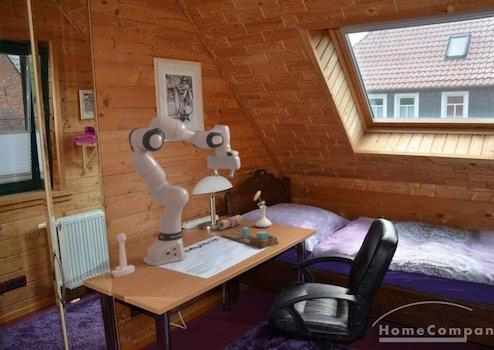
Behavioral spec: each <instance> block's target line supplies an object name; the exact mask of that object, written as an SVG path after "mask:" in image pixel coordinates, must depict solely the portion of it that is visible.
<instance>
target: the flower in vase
mask: <svg viewBox="0 0 494 350" xmlns="http://www.w3.org/2000/svg"><path fill="white" fill-rule="evenodd" d="M261 193H262V192H261V190H258V191H257V192H256V194H255V195H254V197H253V201H254V202H255V201H257V200H258V199H259V201H260V202H259V203H257V206H259V208H260V213H261V216H260V218H259V219H258V220H256V221H255V222H254V225H255V226H256V227H258V228H268V227H271V226H272V224H273V223H272V222H271V220H269V219H268V218H267V217H266V214H265V212H266V208H267V206H266V205H265V203H266V202H265V200H261V198H260V195H261Z"/></svg>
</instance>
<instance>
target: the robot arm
mask: <svg viewBox="0 0 494 350" xmlns="http://www.w3.org/2000/svg"><path fill="white" fill-rule="evenodd" d="M186 127H187V126H186V124H185V123H184V122H182V121H180V120H178V119H175V118H172V117H167V116H155V117H153V118H152V119H151V121H150V124H149V127H137V128H134V129H132V130H131V131H130V132H129V134H128V142H129V145H130V149H131V151H132V154H131V155H130V159H129V160H130V163H131V165H132V167H133V168H134V171H135V172H136V173H137V174H138V176H139V178H141V180H142V181H143V182H144V183H145V185H146V186H147V188H148V189H149V196H150V199H151V200H152V201H153V202H155V203H156V204H158V205H163V206H164V208H163V209H164V210H163V213H162V214H161V215H160V216H159V225H160V226H159V227H160V229H159V230H160V231H159V233H158V232H154V233H153V236H154V237H155V238H157V240H155V242H153V244H151V245H150V247H148V249H147V256H145V257H143V259H142V260H143V263H145V264H147V265H150V266H155V267H156V266H161V265H165V264H167V265H168V264H170V263H176V262H180V261H181V262H182V261H183V260H184V258H186V256H187V254H186V252H185V248H184V247H185V246H184V243H183V239H184V238H183V237H184V236H183V230H182V215H183V214H182V213H183V209H184V207H185V206H186V205H187V203H188V202H189V198H190V196H189V193H188V190H187V189H185V188H183V187H182V186H178V185H172V184H170V183H168V181H167V179H166V176H167V175H166V172H165V171H164V169H163V168H162V167H161V165H160V163H158V162H157V160H156V159H155V158H154V156H153V152H157V151H160V150H161V148H162V147H163V146H164V141H165V140H169V141H175V142H180V141H183V142H187V143H190V144H191V145H192V146H194V148H195V149H196V148H197V149H214V152H209V153H207V164H206V166H207V169H210V170H211V169H212V171H213V172H214V176H215V177H220V173H219V172H217V171H218V170H230V173H229V174H228V175H229V178H233V177H234V173H235V170H239V169H240V168H241V159H240V157H239V152H238V151H237V150H233V149H231V145H230V143H231V141H230V140H231V134H230V128H229V126H227V125H225V124H215V125H214V127H213V128H211V129H210V130H208V131H207V130H206V131H205V130H196V131H191V130H189V129H187V128H186Z"/></svg>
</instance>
